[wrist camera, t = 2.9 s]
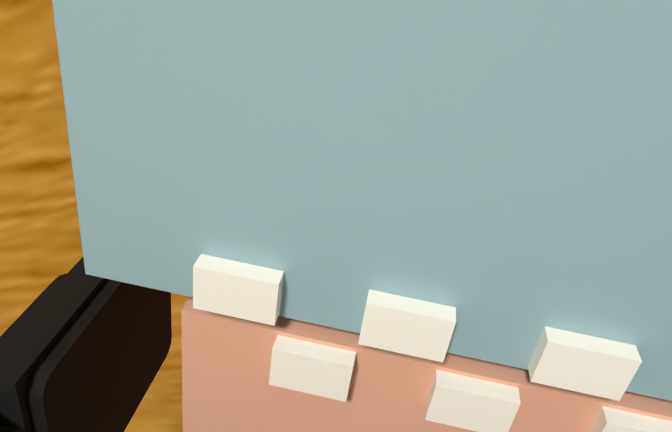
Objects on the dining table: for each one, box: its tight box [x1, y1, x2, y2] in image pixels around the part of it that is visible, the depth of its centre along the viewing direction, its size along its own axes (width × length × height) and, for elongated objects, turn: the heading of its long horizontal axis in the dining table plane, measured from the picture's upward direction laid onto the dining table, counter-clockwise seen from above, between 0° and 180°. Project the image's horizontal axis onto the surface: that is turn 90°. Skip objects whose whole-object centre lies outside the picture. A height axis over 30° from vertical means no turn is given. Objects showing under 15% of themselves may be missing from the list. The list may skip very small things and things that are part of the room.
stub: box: [181, 297, 672, 432], centre depth 10 cm, size 6×6×7 cm
